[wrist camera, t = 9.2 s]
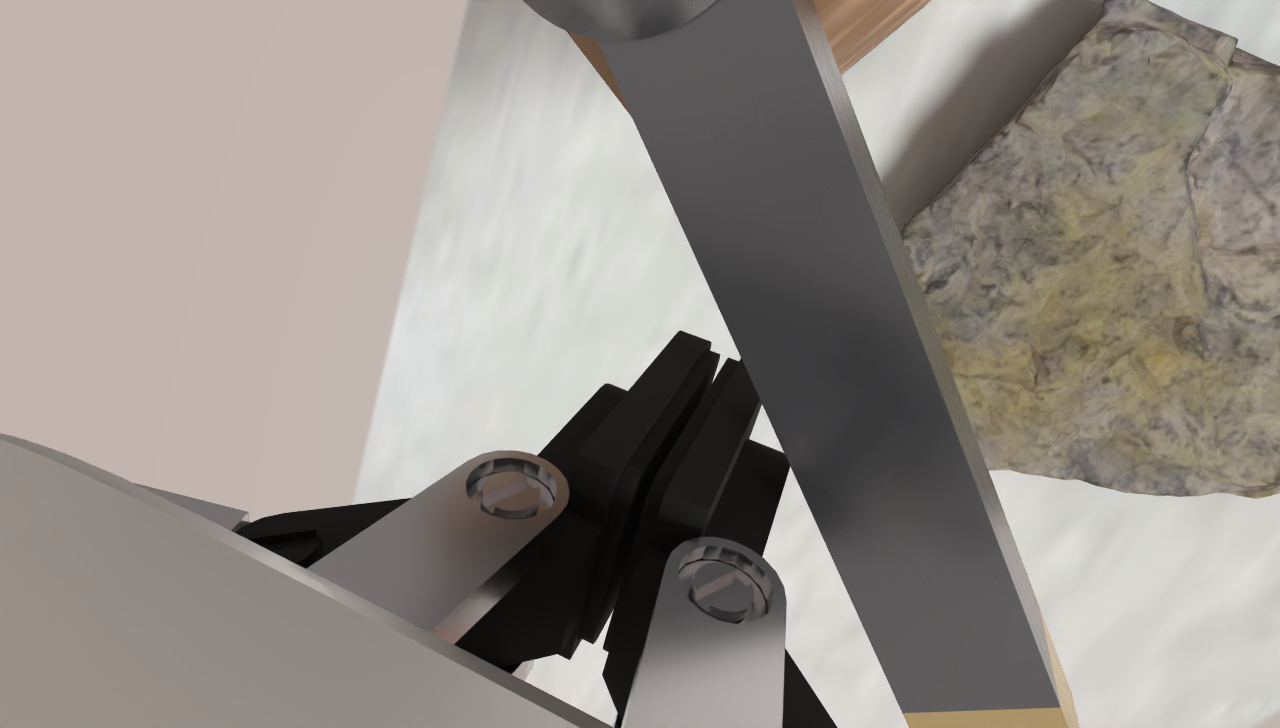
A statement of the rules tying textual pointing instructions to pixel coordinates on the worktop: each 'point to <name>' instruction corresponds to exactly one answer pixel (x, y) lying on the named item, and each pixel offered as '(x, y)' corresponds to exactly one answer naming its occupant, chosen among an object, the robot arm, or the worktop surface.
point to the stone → (1121, 266)
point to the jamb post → (851, 18)
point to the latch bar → (836, 343)
